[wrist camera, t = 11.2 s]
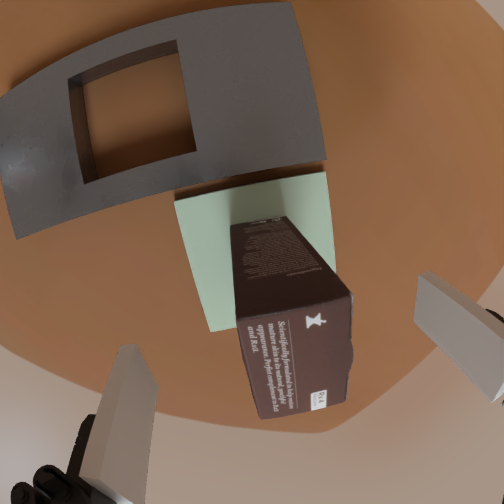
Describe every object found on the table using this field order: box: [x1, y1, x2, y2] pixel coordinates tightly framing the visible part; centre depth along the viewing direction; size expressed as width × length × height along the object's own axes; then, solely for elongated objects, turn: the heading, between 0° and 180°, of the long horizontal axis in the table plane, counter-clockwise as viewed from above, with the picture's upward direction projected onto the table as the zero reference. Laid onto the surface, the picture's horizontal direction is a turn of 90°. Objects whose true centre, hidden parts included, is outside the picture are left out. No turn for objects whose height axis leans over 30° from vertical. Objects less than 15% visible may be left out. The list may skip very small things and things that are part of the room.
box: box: [230, 216, 353, 420], centre depth 15 cm, size 6×4×12 cm
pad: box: [174, 171, 336, 332], centre depth 21 cm, size 11×11×1 cm
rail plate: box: [0, 2, 327, 240], centre depth 16 cm, size 24×12×2 cm, turn 101°
